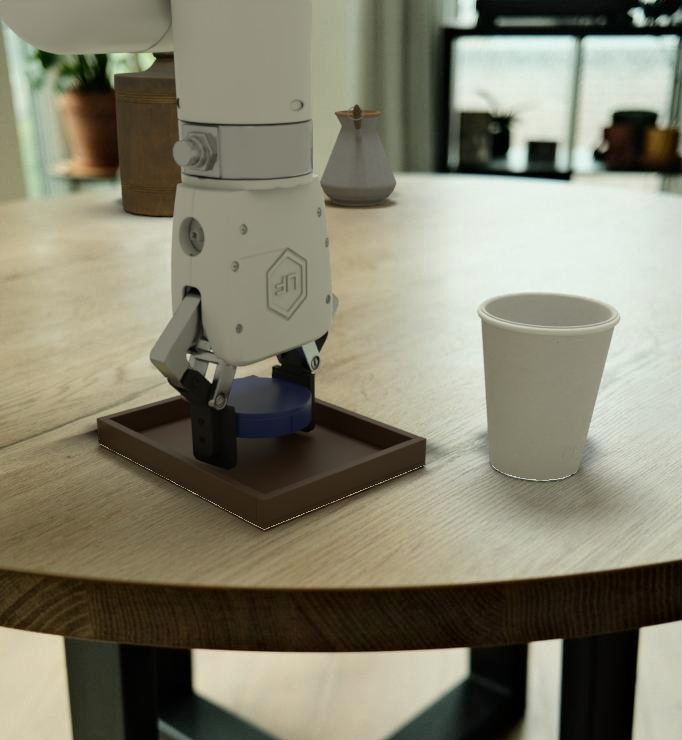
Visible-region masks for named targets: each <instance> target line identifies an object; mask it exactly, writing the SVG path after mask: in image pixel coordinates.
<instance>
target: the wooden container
mask: <svg viewBox="0 0 682 740" xmlns="http://www.w3.org/2000/svg"><path fill="white" fill-rule="evenodd" d="M151 54H152V56H153V57H154V58H155V59H154V61H153V63H152V64H151V65H150V66H149V67H147V68H146V69H145V70H142V71H135V72H118V73H114V74H113V89H114V96H115V98H114V99H115V113H116V114H115V115H116V116H115V117H116V133H117V150H118V151H117V152H118V162H119V163H118V166H119V167H118V168H119V176H120V177H119V179H120V185H121V188H120V191H121V200H122V208H123V210H124V211H126V212H128V213H131V214H136V215H141V216H150V217H173V216H174V205H175V197H176V189H177V184H179V183H183V182H182V180H181V166H179V165H178V164H177V163H176V161H175V160H174V157H173V147H174V144H175V143H176V142H177V141H179V129H178V120H179V119H178V113H177V96H176V80H175V63H174V51H172V52H157V53H151Z"/></svg>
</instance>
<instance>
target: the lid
mask: <svg viewBox="0 0 682 740" xmlns="http://www.w3.org/2000/svg"><path fill="white" fill-rule="evenodd" d="M245 377H246V378H243V377H236V378H234V380H233V383H232V387H231V391H230V394H229V398H228V401H227V404H226V405H229V406H233V407H235V412H236V435H237V437H238V438H271V437H278V436H284V435H288V434H291V433H294V432H297V431H299V430H302V429H303V428H305V427H306V426H307V425H309V423H310V422H311V392H310V391H309V389H307V388H306V387H305V386H303V385H301V384H298V383H294V382H290V381H286V380H283V379H277V378H272V377H266V376H265V377H264V376H263V377H262V376H258V377H247V376H245Z"/></svg>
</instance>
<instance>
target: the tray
mask: <svg viewBox="0 0 682 740" xmlns="http://www.w3.org/2000/svg"><path fill="white" fill-rule="evenodd" d="M246 377H259V376H258V375H255V374H251V375H247V376H244V377H242V378H246ZM96 425H97V428H96V429H97V436H98V444H99V443H100V444H102V445H104V446H106V447H108V448H109V449H111V450H113V451H115V452H117V453H119V454H121V455H123V456H125V457H127V458H129V459H131V460H132V461H134V462H136V463H138V464H140V465H142V466H144V467H146V468H148V469H150V470H152V471H153V472H155V473H157V474H159V475H161V476H163V477H165V478H167V479H169V480H171V481H173V482H175V483H176V484H178V485H180V486H182V487H184V488H186V489H188V490H190V491H192V492H194V493H196V494H198V495H199V496H201V497H203V498H205V499H207V500H209V501H211V502H213V503H215V504H217V505H219V506H220V507H222V508H224V509H226V510H228V511H230V512H232V513H234V514H236V515H238V516H240V517H242V518H243V519H245V520H247V521H249V522H251V523H253V524H255V525H257V526H259V527H261V528H263V529H266V528H268V527H271V526H273V525H276V524H278V523H281V522H283V521H286V520H288V519H291V518H293V517H296V516H298V515H301V514H303V513H306V512H308V511H311V510H313V509H316V508H318V507H321V506H323V505H326V504H328V503H331V502H333V501H336V500H338V499H341V498H343V497H346V496H348V495H350V494H353V493H355V492H358V491H360V490H363V489H365V488H368V487H370V486H373V485H375V484H378V483H380V482H383V481H385V480H388V479H390V478H393V477H395V476H398V475H400V474H403V473H405V472H408V471H410V470H413V469H415V468H418V467H420V466H423V465H425V466H426V463H427V462H426V458H427V438H425V437H423V436H420V435H417V434H415V433H413V432H409V431H406V430H404V429H401V428H398V427H396V426H393V425H390V424H387V423H385V422H382V421H379V420H376V419H374V418H372V417H369V416H366V415H364V414H360V413H359V412H355V411H352V410H349V409H347V408H344V407H341V406H339V405H336V404H333V403H331V402H328V401H325V400H323V399H321V398H317V397H315V428H314V430H312V431H310V432H307V433H306V432H302V431H297V432H294V433H291V434H288V435H284V436H278V437H271V438H238V437H237V460H238V461H237V465H236V467H234V468H232V469H230V470H226V469H223V468H220V467H217V466H214V465H211V464H208V463H205V462H202V461H199V460H197V459H196V458H195V457H194V455H193V443H192V427H191V411H190V402H187V401H184V400H183V399H182V398H181V394H179V395H176V396H175V395H174V396H172V397H168V398H165V399H160V400H157V401H154V402H149V403H147V404H143V405H139V406H136V407H132V408H128V409H126V410H125V409H124V410H122V411H118V412H114V413H111V414H106V415H103V416H99V417H96Z"/></svg>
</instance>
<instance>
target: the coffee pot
mask: <svg viewBox="0 0 682 740" xmlns="http://www.w3.org/2000/svg"><path fill="white" fill-rule="evenodd" d="M334 115H335V116H336V118H337V120H338V121H339V124H340V126H341V127H340V130H339V132H338V134H337V137H336V139H335V143H334V145H333V147H332V149H331V153H330V155H329V158H328V161H327V163H326V165H325V168H324V171H323V173H322V175H321V178H320V184H321V188H322V192H323V194H325V196H326V197H327V198H329V199H330V200H332V203H333V204H335V205H339V206H345V207H346V206H347V207H367V206H366V205H372V206H377V205H376V204H378V205H382V204H384V200H385V199H387V198H389V197H390V196H391V195H392V193H393V192H394V190H395V188H396V186H397V180H396V177H395V175H394V172H393V170H392V166H391V164H390V161H389V159H388V156H387V153H386V150H385V148H384V145H383V142H382V140H381V137H380V134H379V132H378V129H377V123H378V118H379V116H381V115H382V113H381V111H378V110H367V109H364V108H363V107H362V106H360V105H359V104H358V103H356V104H354V105H353V106H351V107H350V108H348V109H347V110H338V111H335V112H334ZM381 203H382V204H381Z"/></svg>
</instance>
